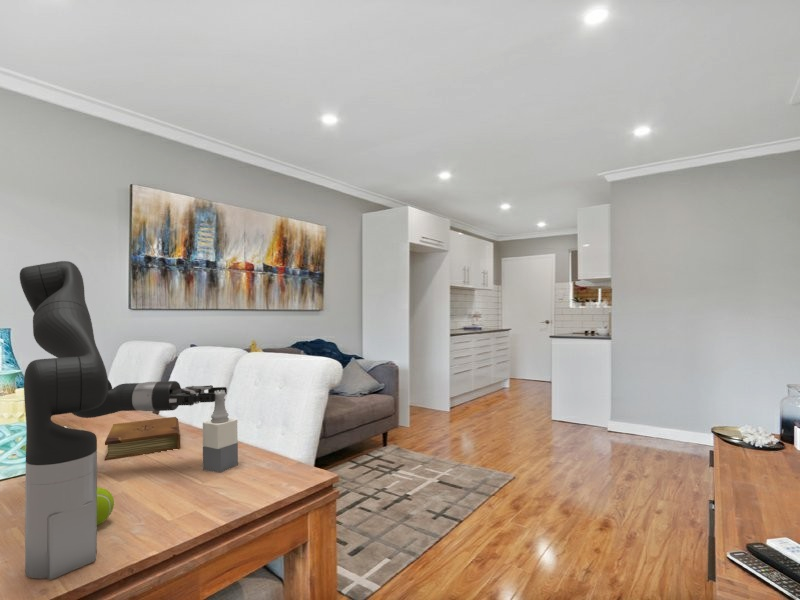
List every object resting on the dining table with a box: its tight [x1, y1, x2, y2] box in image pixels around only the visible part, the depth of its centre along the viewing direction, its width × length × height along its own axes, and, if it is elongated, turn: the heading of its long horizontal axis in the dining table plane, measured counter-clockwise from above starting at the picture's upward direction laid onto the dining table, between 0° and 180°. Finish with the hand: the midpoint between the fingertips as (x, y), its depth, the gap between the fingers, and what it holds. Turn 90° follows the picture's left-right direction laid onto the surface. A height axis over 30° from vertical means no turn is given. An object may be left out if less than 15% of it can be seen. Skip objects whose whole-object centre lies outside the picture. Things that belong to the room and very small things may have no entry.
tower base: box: [202, 443, 239, 473], centre depth 113 cm, size 6×6×6 cm
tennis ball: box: [97, 486, 115, 526], centre depth 82 cm, size 7×7×7 cm
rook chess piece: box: [210, 390, 230, 423], centre depth 113 cm, size 4×4×8 cm
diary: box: [104, 416, 181, 461], centre depth 135 cm, size 23×19×6 cm
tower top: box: [202, 418, 239, 449], centre depth 113 cm, size 6×6×6 cm
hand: (221, 394), depth 113 cm, fingers open, 8 cm apart
